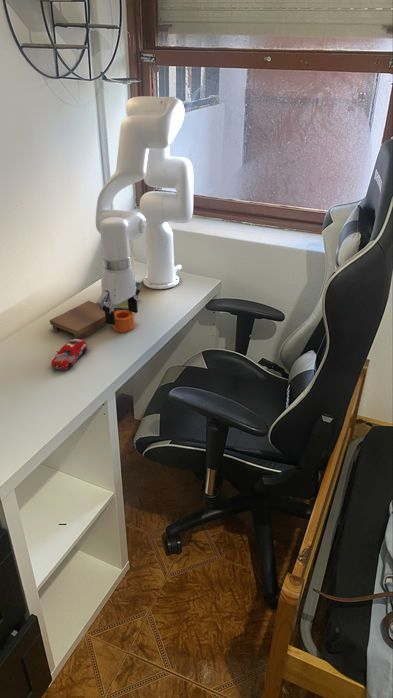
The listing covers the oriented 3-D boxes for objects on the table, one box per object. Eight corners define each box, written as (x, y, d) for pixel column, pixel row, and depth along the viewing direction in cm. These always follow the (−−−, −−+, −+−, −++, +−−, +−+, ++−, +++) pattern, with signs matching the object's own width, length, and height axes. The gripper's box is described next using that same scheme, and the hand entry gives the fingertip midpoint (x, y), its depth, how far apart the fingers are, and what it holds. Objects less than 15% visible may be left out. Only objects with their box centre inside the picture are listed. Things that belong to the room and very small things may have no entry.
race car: (66, 374, 137) (63, 361, 135) (48, 370, 138) (45, 357, 136) (91, 349, 147) (89, 336, 145) (74, 346, 149) (72, 333, 147)
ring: (123, 319, 162) (122, 308, 160) (138, 325, 159) (138, 313, 157) (108, 328, 158) (107, 316, 156) (124, 334, 154) (123, 322, 152)
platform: (90, 310, 168) (88, 300, 166) (117, 320, 162) (116, 310, 160) (51, 330, 157) (49, 320, 155) (79, 341, 151) (77, 331, 149)
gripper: (128, 251, 155) (132, 304, 164) (85, 269, 143) (92, 325, 152) (147, 256, 152) (150, 310, 160) (105, 275, 140) (110, 332, 148)
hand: (122, 317), depth 156 cm, fingers open, 9 cm apart
